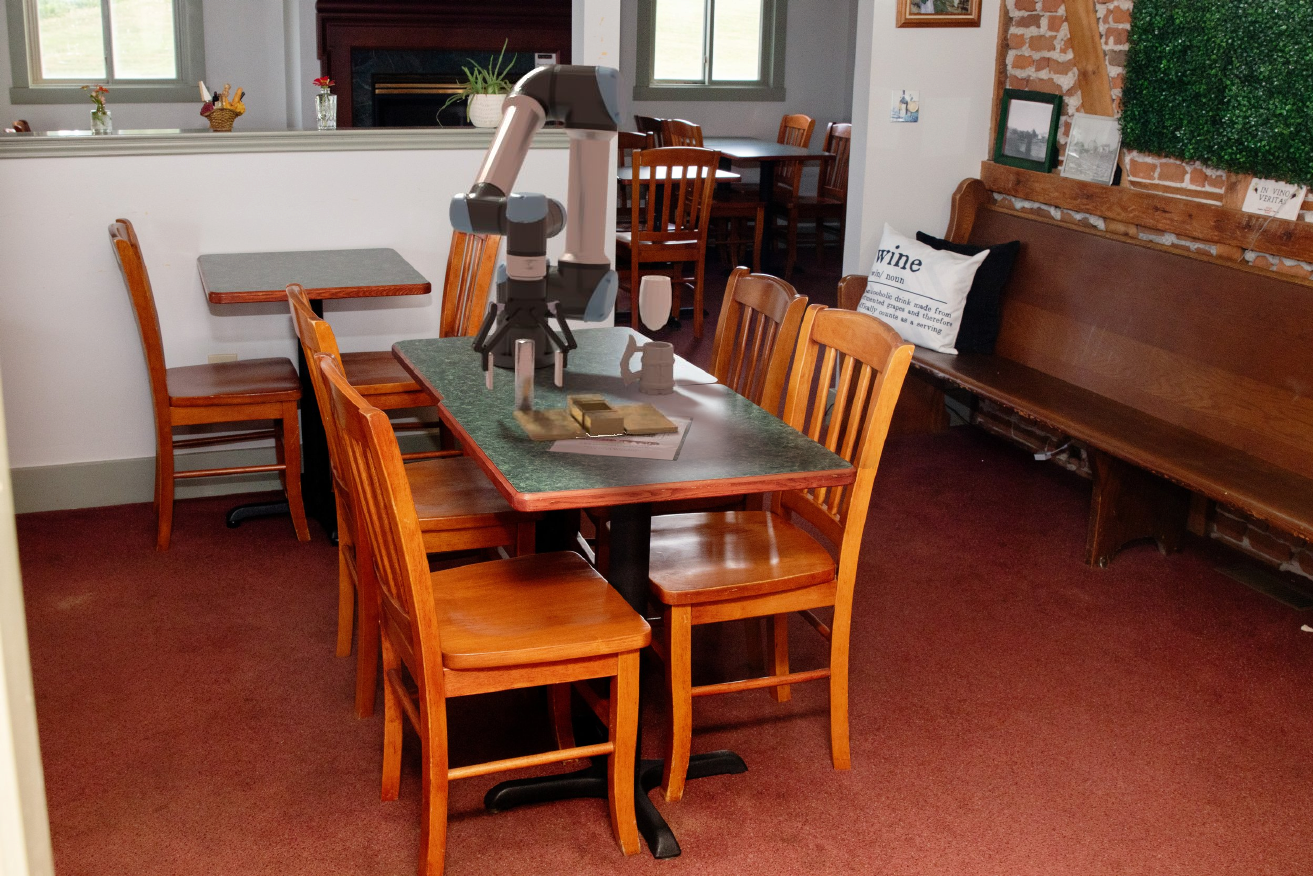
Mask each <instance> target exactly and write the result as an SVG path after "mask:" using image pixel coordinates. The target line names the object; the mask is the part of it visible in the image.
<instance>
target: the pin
mask: <svg viewBox="0 0 1313 876" xmlns="http://www.w3.org/2000/svg"><path fill="white" fill-rule="evenodd" d="M534 343H535V341H534V340H530V339H519V340H516V349H515V368H514V369H515V370H514V372H515V373H514V411H532V410H534V397H535V396H534V395H535V394H534V392H535V390H534V389H535V388H534V387H535V386H534V385H535V368H534Z"/></svg>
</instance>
